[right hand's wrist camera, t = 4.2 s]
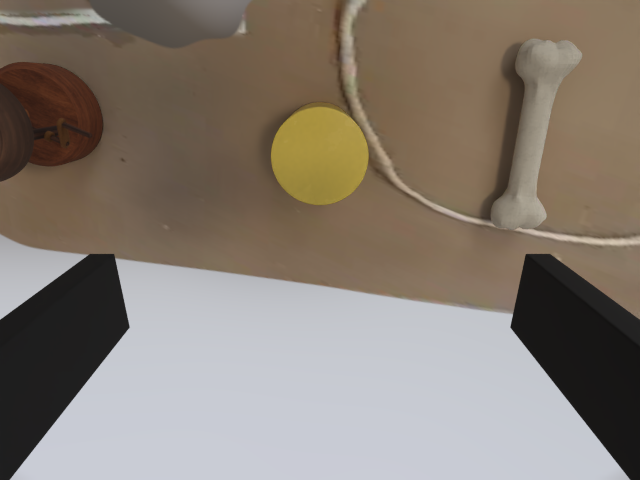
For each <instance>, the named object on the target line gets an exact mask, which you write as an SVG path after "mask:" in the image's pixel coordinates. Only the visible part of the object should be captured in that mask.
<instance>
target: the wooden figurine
mask: <svg viewBox="0 0 640 480" xmlns="http://www.w3.org/2000/svg"><path fill="white" fill-rule="evenodd" d="M101 133H102V115H101V110H100V107H99V104H98V102H97V100H96V98H95V96H94V95H93V93H92V92H91V90H90V89H89V87H88V86H87V85H86V84H85V83H84V82H83V81H82V80H81V79H80V78H79V77H77V76H76V75H75V74H73V73H72V72H70V71H68V70H66V69H64V68H62V67H59V66H56V65H51V64H42V63H29V62H18V63H12V64H9V65H7V66H4V67H3V68H1V69H0V181H3V180H6V179H9V178H11V177H13V176H14V175H16V174H17V173H19V172H20V171H21V170H22V169H23V168H24V167H25V165H26V164H27V163H28V162H30V163H33V164H37V165H41V166H58V165H62V164H65V163H68V162H72V161H75V160H78V159H81V158H83V157H85V156H87V155H88V154H89V153H91V152H92V151H93V150H94V148H95V147H96V146H97V144H98V142H99V140H100V137H101Z"/></svg>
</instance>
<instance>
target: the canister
mask: <svg viewBox="0 0 640 480" xmlns="http://www.w3.org/2000/svg"><path fill="white" fill-rule="evenodd" d="M271 163H272V168H273V172H274V174H275V177H276V179H277V180H278V182H279V184H280V185H281V186H282V188H283V189H284V190H285V191H286V192H287V193H288V194H290V195H291V196H292V197H294V198H295V199H297V200H299V201H301V202H304V203H307V204H312V205H327V204H332V203H335V202H338V201H340V200H342V199H344V198H346V197H347V196H349V195H350V194H351V193H352V192H353V191H354V190H355V189H356V188H357V187H358V186H359V184H360V183H361V181H362V179H363V177H364V175H365V173H366V170H367V165H368V147H367V142H366V139H365V137H364V135H363V132H362V131H361V129H360V128H359V126H358V125H357V124H356V123H355V121H354V120H353V119H352V118H351V117H350V116H349V115H348V114H347V113H346V112H345V111H344V110H342V109H341V108H339V107H337V106H335V105H333V104H330V103H325V102H315V103H310V104H307V105H304V106H302V107H300V108H299V109H297V110H296V111H295V112H294V113H293V114H292V115H291V116H290V117H289V118H288V119H287V120H286V121H285V122H284V123H283V124H282V126H281V127H280V128H279V130H278V131H277V133H276V135H275V138H274V140H273V144H272V149H271Z"/></svg>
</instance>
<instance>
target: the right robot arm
mask: <svg viewBox="0 0 640 480" xmlns="http://www.w3.org/2000/svg"><path fill="white" fill-rule="evenodd" d="M128 329H129V322H128V318H127V313H126V308H125V303H124V299H123V294H122V289H121V285H120V280H119V275H118V270H117V265H116V261H115V256H114V254H89V255H88V256H87V257H86V258H84V259H83V260H81V261H80V262H79V263H77V264H76V265H75V266H73V267H72V268H70V269H69V270H68V271H66V272H65V273H64V274H62V275H61V276H59V277H58V278H57V279H55V280H54V281H53V282H51V283H50V284H49V285H47V286H46V287H44V288H43V289H42V290H40V291H39V292H38V293H36V294H35V295H33V296H32V297H31V298H29V299H28V300H27V301H25V302H24V303H23V304H21V305H20V306H18V307H17V308H16V309H14V310H13V311H12V312H10V313H9V314H8V315H6V316H5V317H4V318H2V319H1V320H0V480H10V479H11V477H12V476H13V475H14V473H15V472H16V471H17V470H18V468H19V467H20V466H21V465H22V463H23V462H24V461H25V459H26V458H27V457H28V456H29V454H30V453H31V452H32V451H33V449H34V448H35V447H36V445H37V444H38V443H39V442H40V440H41V439H42V438H43V437H44V435H45V434H46V433H47V431H48V430H49V429H50V428H51V427H52V425H53V424H54V423H55V421H56V420H57V419H58V418H59V416H60V415H61V414H62V413H63V411H64V410H65V409H66V407H67V406H68V405H69V404H70V402H71V401H72V400H73V399H74V397H75V396H76V395H77V393H78V392H79V391H80V390H81V388H82V387H83V386H84V385H85V383H86V382H87V381H88V379H89V378H90V377H91V376H92V374H93V373H94V372H95V371H96V369H97V368H98V367H99V366H100V364H101V363H102V362H103V360H104V359H105V358H106V357H107V355H108V354H109V353H110V352H111V350H112V349H113V348H114V346H115V345H116V344H117V343H118V341H119V340H120V339H121V338H122V336H123V335H124V334H125V333H126V331H127V330H128ZM511 329H512V330H513V331H514V333H515V334H516V335H517V336H518V338H519V339H520V340H521V341H522V343H523V344H524V345H525V347H526V348H527V349H528V350H529V352H530V353H531V354H532V355H533V357H534V358H535V359H536V360H537V362H538V363H539V364H540V366H541V367H542V368H543V369H544V371H545V372H546V373H547V374H548V376H549V377H550V378H551V379H552V381H553V382H554V383H555V385H556V386H557V387H558V388H559V390H560V391H561V392H562V393H563V395H564V396H565V397H566V399H567V400H568V401H569V402H570V404H571V405H572V406H573V407H574V409H575V410H576V411H577V413H578V414H579V415H580V416H581V418H582V419H583V420H584V421H585V423H586V424H587V425H588V427H589V428H590V429H591V430H592V432H593V433H594V434H595V435H596V437H597V438H598V439H599V440H600V442H601V443H602V444H603V446H604V447H605V448H606V449H607V451H608V452H609V453H610V454H611V456H612V457H613V458H614V460H615V461H616V462H617V463H618V465H619V466H620V467H621V468H622V470H623V471H624V472H625V473H626V475H627V476H628V477H629V479H630V480H640V320H639V319H638V318H637V317H635V316H634V315H632V314H631V313H630V312H628V311H627V310H626V309H624V308H623V307H622V306H620V305H619V304H617V303H616V302H615V301H613V300H612V299H611V298H609V297H608V296H607V295H605V294H604V293H602V292H601V291H600V290H598V289H597V288H596V287H594V286H593V285H592V284H590V283H589V282H587V281H586V280H585V279H583V278H582V277H581V276H579V275H578V274H576V273H575V272H574V271H572V270H571V269H570V268H568V267H567V266H566V265H564V264H563V263H561V262H560V261H559V260H557V259H556V258H555V257H553V256H552V255H551V254H526V256H525V261H524V265H523V270H522V275H521V280H520V284H519V289H518V294H517V299H516V303H515V308H514V313H513V318H512V322H511Z"/></svg>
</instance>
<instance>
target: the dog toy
mask: <svg viewBox="0 0 640 480" xmlns="http://www.w3.org/2000/svg"><path fill="white" fill-rule="evenodd" d="M581 58H582V53H581V52H580V51H579V50H578V49H577V47H576V46H575V45H574V44H573V43H571V42H570V41H568V40H561V41H559V42H557V43H554V42H552V41H550V40H544V41H542V40H540V39H530V40H527V41H526V42H524V43H523V44H522V46H521V47H520V49H519V51H518V54H517V57H516V62H515V70H516V72H517V74H518V75H519V76H520V77H521V78H522V80H523V82H524V85H525V92H524V99H523V104H522V110H521V116H520V121H519V127H518V133H517V138H516V144H515V150H514V155H513V161H512V166H511V172H510V178H509V183H508V187H507V189H506V190H505V192H504V193H503V195H502V196H501V197H499V198H498V199H497V200H496V201H495V202H494V203H493V205H492V208H491V221H492V223H493V224H494V225H495V226H496V227H498V228H507V229H510V230H514V229H516V228H518V227H520V228H522V229H531V228H535V227H537V226H538V225H540V224H541V223H542V222H543V221H544V220H545V219H546V212H545V210H544V207H543V205H542V204H541V202H540V201H539V199H538V198H537V195H536V188H537V178H538V173H539V168H540V163H541V158H542V153H543V148H544V144H545V139H546V134H547V129H548V124H549V119H550V114H551V109H552V105H553V102H554V98H555V95H556V92H557V90H558V87H559V85H560V83H561V81H562V80H563V78H564V77H565V76H567V75H568V74H569V73H570V72H571V71H572V70H573V69H574V68H575V67H576V66H577V65H578V63H579V62H580V60H581Z"/></svg>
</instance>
